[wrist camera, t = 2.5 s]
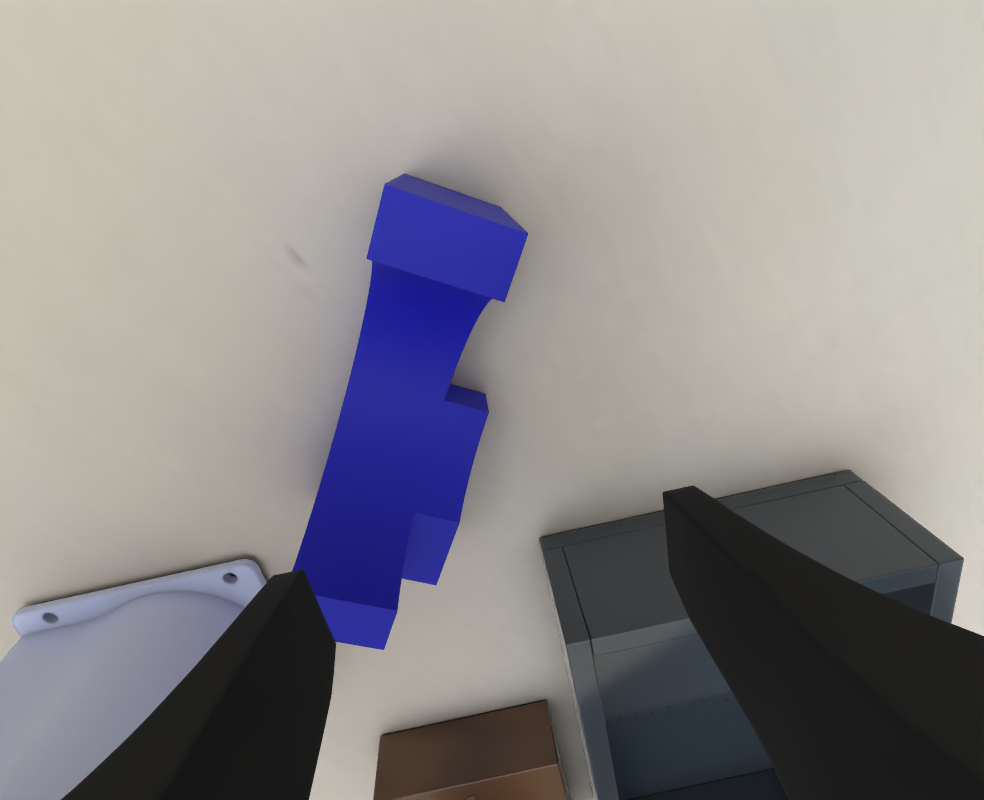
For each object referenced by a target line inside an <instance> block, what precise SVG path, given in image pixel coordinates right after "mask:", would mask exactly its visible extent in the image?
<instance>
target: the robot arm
mask: <svg viewBox="0 0 984 800" xmlns="http://www.w3.org/2000/svg"><path fill="white" fill-rule="evenodd" d="M663 503H664V515H665V527H666V539H667V551H668V563H669V573H670V575H671V578H672V580H673V582H674V585H675V587H676V589H677V592H678V594H679V596H680V599H681V601H682V603H683V605H684V608H685V610H686V612H687V614H688V617H689V619H690V621H691V622H692V624H693V626H694V628H695V629H696V631H697V633H698V635H699V636H700V638H701V640H702V642H703V643H704V645H705V647H706V648H707V650H708V652H709V654H710V655H711V657H712V659H713V660H714V662H715V664H716V666H717V667H718V669H719V671H720V672H721V674H722V676H723V677H724V679H725V681H726V683H727V684H728V686H729V688H730V689H731V691H732V693H733V695H734V696H735V698H736V700H737V701H738V703H739V705H740V706H741V708H742V710H743V712H744V713H745V715H746V717H747V718H748V720H749V722H750V723H751V725H752V727H753V729H754V730H755V732H756V734H757V736H758V738H759V740H760V742H761V743H762V745H763V747H764V749H765V751H766V753H767V755H768V757H769V759H770V761H771V763H772V765H773V767H774V769H775V771H776V773H777V776H778V778H779V780H780V782H781V784H782V786H783V788H784V790H785V792H786V795H787V797H788V799H789V800H984V636H982V635H979V634H977V633H974V632H971V631H969V630H966V629H964V628H961V627H958V626H956V625H953V624H951V623H948V622H946V621H943V620H940V619H938V618H936V617H933V616H931V615H928V614H926V613H924V612H921V611H919V610H916V609H914V608H912V607H909V606H907V605H905V604H903V603H901V602H898V601H896V600H894V599H892V598H890V597H887V596H885V595H883V594H881V593H879V592H877V591H874V590H872V589H870V588H868V587H866V586H864V585H862V584H859V583H857V582H855V581H853V580H851V579H849V578H847V577H845V576H843V575H841V574H840V573H838V572H836V571H834V570H832V569H830V568H828V567H826V566H825V565H823V564H821V563H819V562H817V561H815V560H813V559H811V558H810V557H808V556H806V555H804V554H802V553H801V552H799V551H797V550H795V549H794V548H792V547H790V546H788V545H787V544H785V543H783V542H782V541H780V540H778V539H777V538H775V537H773V536H772V535H770V534H768V533H767V532H765V531H763V530H762V529H760V528H759V527H757V526H755V525H754V524H752V523H751V522H749V521H747V520H746V519H744V518H743V517H741V516H740V515H738V514H736V513H735V512H733V511H732V510H730V509H729V508H727V507H726V506H724V505H723V504H721V503H719V502H718V501H716V500H715V499H713V498H712V497H710V496H709V495H707V494H706V493H704V492H703V491H701V490H700V489H698V488H696V487H695V486H689V487H684V488H680V489H675V490H670V491H666V492H663ZM228 573H232V574H235V575H236V576H237V577H232V576H230V575H229V574H228ZM54 614H55V615H54ZM11 623H12V625H13V627H14V628H15V629H16V630H17V632H18V633H19V634H20V636H21V637H22V638H21V639H20V640H19V641H18V642H17V643H16V644H15V645H14V647H13V648H12V649H11V650H10V651H9V652H8V654H7V655H6V656H5V657H4V658H3V659H2V660H1V662H0V800H309V796H310V792H311V787H312V783H313V778H314V774H315V769H316V765H317V760H318V756H319V751H320V747H321V742H322V738H323V733H324V728H325V724H326V719H327V714H328V709H329V705H330V700H331V694H332V684H333V675H334V663H335V650H336V642H335V640H334V638H333V635H332V633H331V631H330V629H329V626H328V624H327V622H326V620H325V617H324V615H323V613H322V610H321V608H320V606H319V604H318V601H317V599H316V597H315V594H314V592H313V590H312V588H311V585H310V583H309V581H308V579H307V576H306V574H305V572H304V569H302V570H298V571H293V572H288V573H284V574H279V575H274V576H273V577H272V578H271V579H270V580H269V581H268V582H266V580H265V578H264V576H263V574H262V572H261V570H260V568H259V566H258V565H257V564H256V563H255V562H254V561H252V560H248V559H240V560H236V561H231V562H227V563H222V564H218V565H213V566H209V567H204V568H199V569H195V570H190V571H186V572H181V573H177V574H172V575H168V576H163V577H159V578H154V579H149V580H145V581H140V582H136V583H131V584H127V585H122V586H118V587H113V588H109V589H104V590H100V591H95V592H90V593H86V594H81V595H77V596H72V597H68V598H63V599H59V600H54V601H50V602H45V603H41V604H36V605H31V606H27V607H23V608H21V609H19V610H18V611H17V612H16V613H15V614H14V616H13V617H12V618H11Z"/></svg>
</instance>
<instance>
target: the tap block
mask: <svg viewBox="0 0 984 800" xmlns="http://www.w3.org/2000/svg"><path fill="white" fill-rule="evenodd" d="M373 800H571V799H570V794H569V790H568V786H567V782H566V778H565V774H564V770H563V765H562V761H561V757H560V753H559V749H558V745H557V741H556V737H555V732H554V728H553V724H552V720H551V716H550V712H549V708H548V703H547V701H541V702H536V703H531V704H527V705H522V706H518V707H513V708H508V709H504V710H499V711H495V712H490V713H485V714H481V715H476V716H471V717H467V718H462V719H458V720H453V721H448V722H444V723H439V724H434V725H430V726H425V727H421V728H416V729H411V730H407V731H402V732H398V733H393V734H388V735H384V736H381V737H380V743H379V752H378V762H377V771H376V780H375V790H374V799H373Z"/></svg>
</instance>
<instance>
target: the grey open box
mask: <svg viewBox="0 0 984 800" xmlns="http://www.w3.org/2000/svg"><path fill="white" fill-rule="evenodd" d="M715 500H716V501H718V502H719V503H721V504H723V505H724V506H726V507H727V508H729V509H730V510H732V511H733V512H735V513H736V514H738V515H740V516H741V517H743V518H744V519H746V520H747V521H749V522H751V523H752V524H754V525H755V526H757V527H759V528H760V529H762V530H763V531H765V532H767V533H768V534H770V535H772V536H773V537H775V538H777V539H778V540H780V541H782V542H783V543H785V544H787V545H788V546H790V547H792V548H794V549H795V550H797V551H799V552H801V553H802V554H804V555H806V556H808V557H810V558H811V559H813V560H815V561H817V562H819V563H821V564H823V565H825V566H826V567H828V568H830V569H832V570H834V571H836V572H838V573H840V574H841V575H843V576H845V577H847V578H849V579H851V580H853V581H855V582H857V583H859V584H862V585H864V586H866V587H868V588H870V589H872V590H874V591H877V592H879V593H881V594H883V595H885V596H887V597H890V598H892V599H894V600H896V601H898V602H901V603H903V604H905V605H907V606H909V607H912V608H914V609H916V610H919V611H921V612H924V613H926V614H928V615H931V616H933V617H936V618H938V619H940V620H943V621H946V622H948V623H951V622H952V617H953V612H954V607H955V602H956V597H957V592H958V587H959V581H960V576H961V571H962V566H963V561H964V558H963V557H962V556H960V555H959V554H958V553H956V552H955V551H954V550H953V549H951V548H950V547H949V546H947V545H946V544H945V543H944V542H942V541H941V540H940V539H938V538H937V537H936V536H935V535H933V534H932V533H931V532H929V531H928V530H927V529H926V528H924V527H923V526H922V525H920V524H919V523H918V522H917V521H915V520H914V519H913V518H911V517H910V516H909V515H908V514H906V513H905V512H904V511H902V510H901V509H900V508H899V507H897V506H896V505H895V504H893V503H892V502H891V501H890V500H888V499H887V498H886V497H884V496H883V495H882V494H881V493H879V492H878V491H877V490H875V489H874V488H873V487H872V486H870V485H869V484H868V483H866V482H865V481H863V480H862V479H861V478H860V477H858V476H857V475H856V474H855V473H853V472H852V471H851V470H847V471H842V472H838V473H833V474H829V475H824V476H819V477H815V478H810V479H806V480H801V481H797V482H792V483H788V484H783V485H778V486H774V487H769V488H765V489H760V490H756V491H751V492H747V493H742V494H737V495H733V496H728V497H724V498H719V499H715ZM539 542H540V547H541V551H542V556H543V561H544V566H545V570H546V575H547V580H548V584H549V589H550V594H551V598H552V603H553V608H554V613H555V617H556V622H557V627H558V631H559V636H560V641H561V646H562V650H563V655H564V660H565V664H566V669H567V674H568V679H569V683H570V688H571V693H572V697H573V702H574V707H575V712H576V716H577V721H578V726H579V730H580V735H581V740H582V745H583V749H584V754H585V759H586V763H587V768H588V773H589V777H590V782H591V787H592V792H593V796H594V800H789V799H788V797H787V795H786V792H785V790H784V788H783V786H782V784H781V782H780V780H779V778H778V776H777V773H776V771H775V769H774V767H773V765H772V763H771V761H770V759H769V757H768V755H767V753H766V751H765V749H764V747H763V745H762V743H761V742H760V740H759V738H758V736H757V734H756V732H755V730H754V729H753V727H752V725H751V723H750V722H749V720H748V718H747V717H746V715H745V713H744V712H743V710H742V708H741V706H740V705H739V703H738V701H737V700H736V698H735V696H734V695H733V693H732V691H731V689H730V688H729V686H728V684H727V683H726V681H725V679H724V677H723V676H722V674H721V672H720V671H719V669H718V667H717V666H716V664H715V662H714V660H713V659H712V657H711V655H710V654H709V652H708V650H707V648H706V647H705V645H704V643H703V642H702V640H701V638H700V636H699V635H698V633H697V631H696V629H695V628H694V626H693V624H692V622H691V621H690V619H689V617H688V614H687V612H686V610H685V608H684V605H683V603H682V601H681V599H680V596H679V594H678V592H677V589H676V587H675V585H674V582H673V580H672V578H671V575H670V573H669V563H668V551H667V539H666V527H665V515H664V511H660V512H655V513H651V514H646V515H642V516H637V517H633V518H628V519H624V520H619V521H614V522H610V523H605V524H601V525H596V526H592V527H587V528H583V529H578V530H573V531H569V532H564V533H560V534H555V535H551V536H546V537H542V538H539Z"/></svg>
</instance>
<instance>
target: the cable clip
mask: <svg viewBox="0 0 984 800" xmlns="http://www.w3.org/2000/svg"><path fill="white" fill-rule="evenodd" d="M527 236H528V233H527V232H526V231H525V230H524V229H523V228H522V227H521V226H520V225H519V224H518V223H517V222H516V221H515V220H514V219H513V218H512V217H510V216H509V215H508V214H507V213H506V212H505V211H504V210H503V209H502V208H501V207H499V206H496V205H493V204H490V203H487V202H484V201H481V200H479V199H476V198H473V197H470V196H467V195H464V194H461V193H459V192H456V191H453V190H450V189H447V188H444V187H441V186H439V185H436V184H433V183H430V182H427V181H424V180H421V179H419V178H416V177H413V176H410V175H407V174H403V175H401V176H399V177H397V178H395V179H393V180H391V181H390V182H388V183H386V184H385V185H384V189H383V193H382V197H381V201H380V205H379V209H378V214H377V218H376V222H375V226H374V230H373V234H372V238H371V242H370V246H369V251H368V255H367V259H369V260H372V275H371V282H370V288H369V294H368V300H367V305H366V310H365V315H364V320H363V324H362V329H361V333H360V338H359V342H358V346H357V350H356V355H355V359H354V363H353V367H352V371H351V375H350V379H349V383H348V387H347V390H346V394H345V398H344V402H343V406H342V409H341V413H340V417H339V420H338V424H337V428H336V431H335V435H334V438H333V442H332V445H331V449H330V453H329V456H328V459H327V463H326V466H325V470H324V473H323V477H322V480H321V483H320V487H319V490H318V493H317V497H316V500H315V503H314V506H313V510H312V513H311V516H310V519H309V522H308V525H307V529H306V532H305V535H304V538H303V541H302V544H301V547H300V550H299V553H298V556H297V559H296V562H295V565H294V568H293V571H298V570H302V569H304V572H305V574H306V576H307V579H308V581H309V583H310V585H311V588H312V590H313V592H314V594H315V597H316V599H317V601H318V604H319V606H320V608H321V610H322V613H323V615H324V617H325V620H326V622H327V624H328V626H329V629H330V631H331V633H332V635H333V638H334V640H335V642H341V643H347V644H352V645H358V646H364V647H370V648H375V649H381V650H384V648H385V645H386V642H387V639H388V637H389V634H390V631H391V628H392V625H393V622H394V619H395V616H396V613H397V610H398V601H399V593H400V586H401V579H402V578H403V579H408V580H413V581H418V582H423V583H428V584H433V585H436V584H437V582H438V579H439V576H440V573H441V571H442V568H443V565H444V563H445V560H446V557H447V555H448V552H449V549H450V547H451V544H452V541H453V539H454V536H455V533H456V531H457V528H458V525H459V522H460V517H461V512H462V507H463V502H464V497H465V493H466V488H467V484H468V480H469V476H470V472H471V468H472V465H473V461H474V457H475V454H476V450H477V447H478V444H479V440H480V437H481V434H482V431H483V428H484V425H485V422H486V419H487V416H488V413H489V410H488V405H487V399H486V394H484V393H480V392H476V391H473V390H469V389H466V388H462V387H458V386H455V385H451V384H450V382H451V379H452V376H453V374H454V371H455V368H456V366H457V363H458V360H459V358H460V355H461V353H462V351H463V348H464V346H465V343H466V341H467V339H468V337H469V334H470V332H471V330H472V328H473V326H474V324H475V322H476V321H477V319H478V317H479V315H480V314H481V312H482V310H483V309H484V307H485V306H486V305H487V303H488V302H489V301H490V300H491V299H496V300H499V301H502V302H505V299H506V296H507V294H508V291H509V288H510V285H511V282H512V279H513V276H514V273H515V270H516V268H517V265H518V262H519V259H520V256H521V253H522V250H523V247H524V245H525V242H526V239H527ZM293 571H292V572H293Z"/></svg>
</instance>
